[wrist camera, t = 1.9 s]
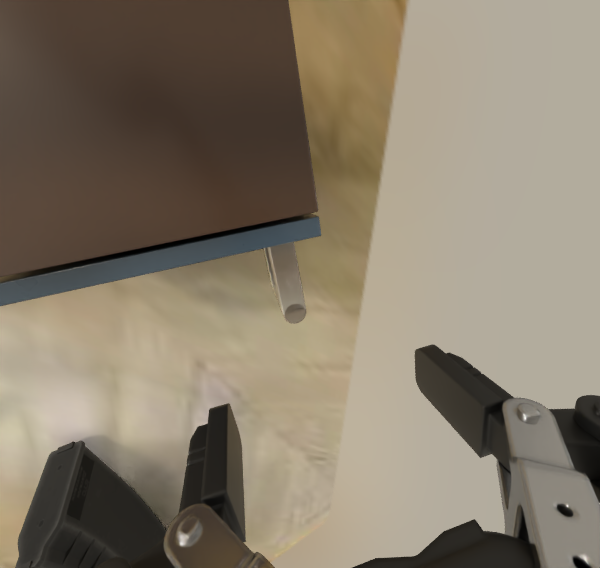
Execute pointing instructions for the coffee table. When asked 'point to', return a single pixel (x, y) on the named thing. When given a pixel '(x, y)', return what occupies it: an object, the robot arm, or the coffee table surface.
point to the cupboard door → (182, 263)
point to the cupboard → (145, 125)
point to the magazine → (84, 515)
